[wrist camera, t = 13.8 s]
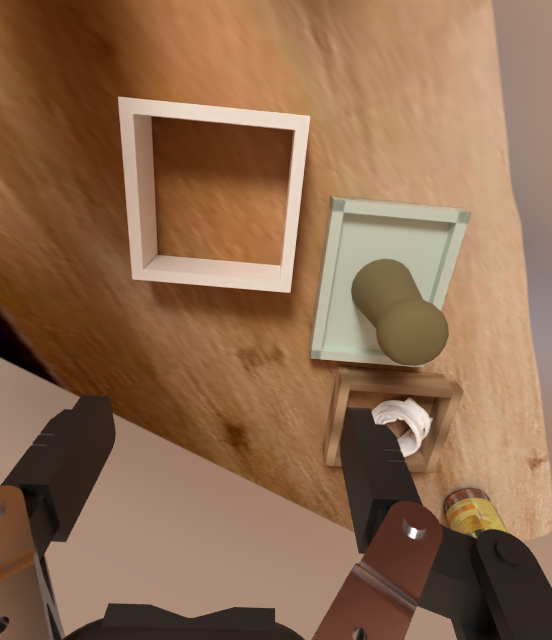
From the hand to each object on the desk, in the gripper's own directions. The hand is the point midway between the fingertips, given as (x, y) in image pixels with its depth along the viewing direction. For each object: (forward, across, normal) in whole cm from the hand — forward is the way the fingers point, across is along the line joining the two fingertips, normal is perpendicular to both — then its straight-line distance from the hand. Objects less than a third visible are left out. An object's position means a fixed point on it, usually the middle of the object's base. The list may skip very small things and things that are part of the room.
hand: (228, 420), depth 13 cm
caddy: (+25, -16, +21) cm, 36 cm away
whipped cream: (+26, -17, +22) cm, 38 cm away
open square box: (+26, +4, -3) cm, 27 cm away
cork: (+25, -12, +5) cm, 28 cm away
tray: (+26, -12, +5) cm, 29 cm away
